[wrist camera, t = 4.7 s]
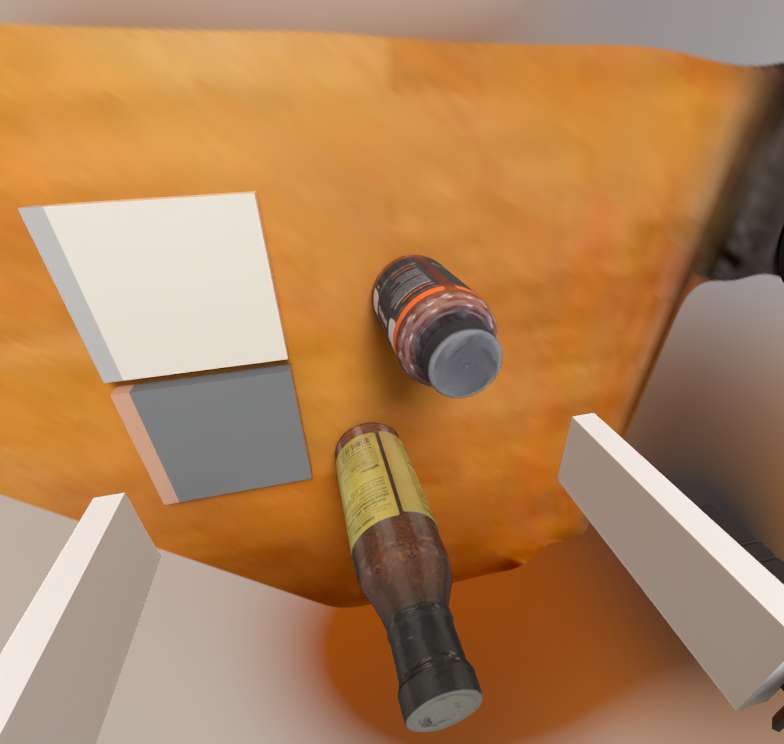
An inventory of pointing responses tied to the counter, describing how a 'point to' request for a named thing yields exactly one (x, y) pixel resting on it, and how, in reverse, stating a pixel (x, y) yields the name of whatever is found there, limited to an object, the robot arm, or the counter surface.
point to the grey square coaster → (217, 431)
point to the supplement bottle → (437, 326)
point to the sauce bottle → (405, 576)
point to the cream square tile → (164, 281)
